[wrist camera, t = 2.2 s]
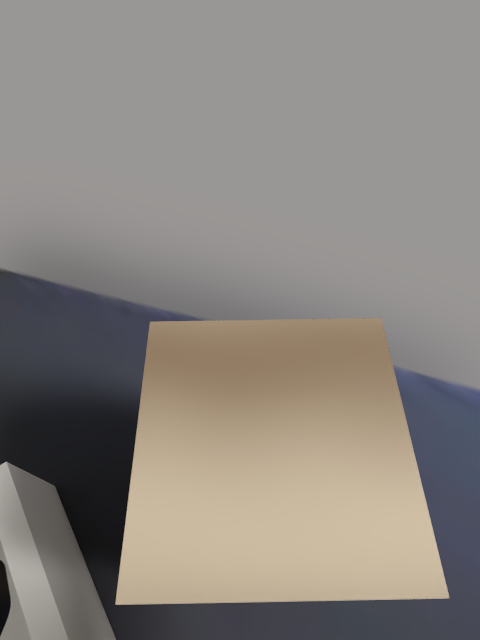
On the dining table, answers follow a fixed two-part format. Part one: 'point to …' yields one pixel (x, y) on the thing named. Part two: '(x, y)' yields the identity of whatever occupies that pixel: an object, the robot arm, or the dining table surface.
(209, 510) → the wood block
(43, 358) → the dining table surface
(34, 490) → the box
